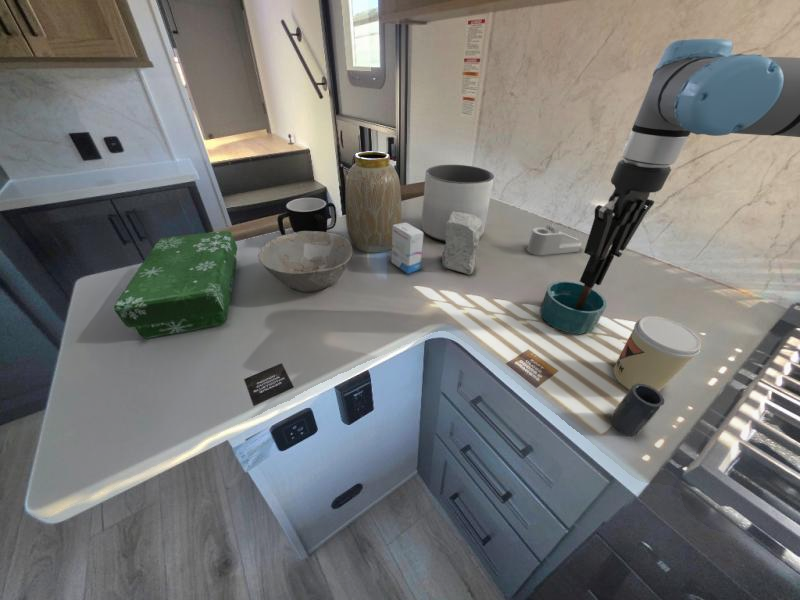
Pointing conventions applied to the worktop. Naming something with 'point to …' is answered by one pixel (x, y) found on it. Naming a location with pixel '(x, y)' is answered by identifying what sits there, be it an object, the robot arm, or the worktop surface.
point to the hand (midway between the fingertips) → (590, 282)
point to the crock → (636, 409)
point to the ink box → (407, 247)
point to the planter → (454, 196)
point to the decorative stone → (461, 242)
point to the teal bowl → (571, 307)
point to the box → (181, 285)
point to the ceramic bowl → (307, 259)
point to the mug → (308, 215)
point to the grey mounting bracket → (551, 241)
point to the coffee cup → (655, 352)
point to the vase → (372, 201)
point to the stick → (586, 291)
